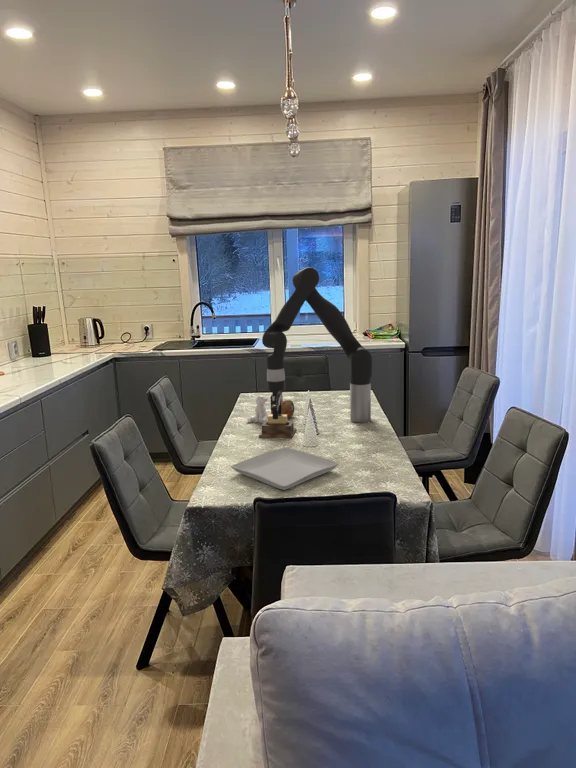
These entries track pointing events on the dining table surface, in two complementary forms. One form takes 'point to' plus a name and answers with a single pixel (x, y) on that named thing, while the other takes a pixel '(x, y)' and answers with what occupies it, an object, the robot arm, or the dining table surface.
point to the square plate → (285, 467)
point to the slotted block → (277, 430)
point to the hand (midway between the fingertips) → (277, 416)
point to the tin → (287, 408)
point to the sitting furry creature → (259, 411)
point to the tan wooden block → (277, 420)
